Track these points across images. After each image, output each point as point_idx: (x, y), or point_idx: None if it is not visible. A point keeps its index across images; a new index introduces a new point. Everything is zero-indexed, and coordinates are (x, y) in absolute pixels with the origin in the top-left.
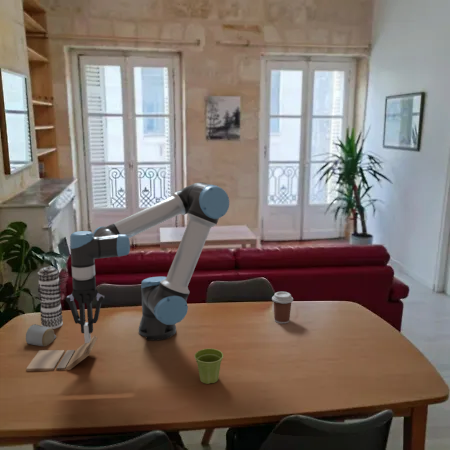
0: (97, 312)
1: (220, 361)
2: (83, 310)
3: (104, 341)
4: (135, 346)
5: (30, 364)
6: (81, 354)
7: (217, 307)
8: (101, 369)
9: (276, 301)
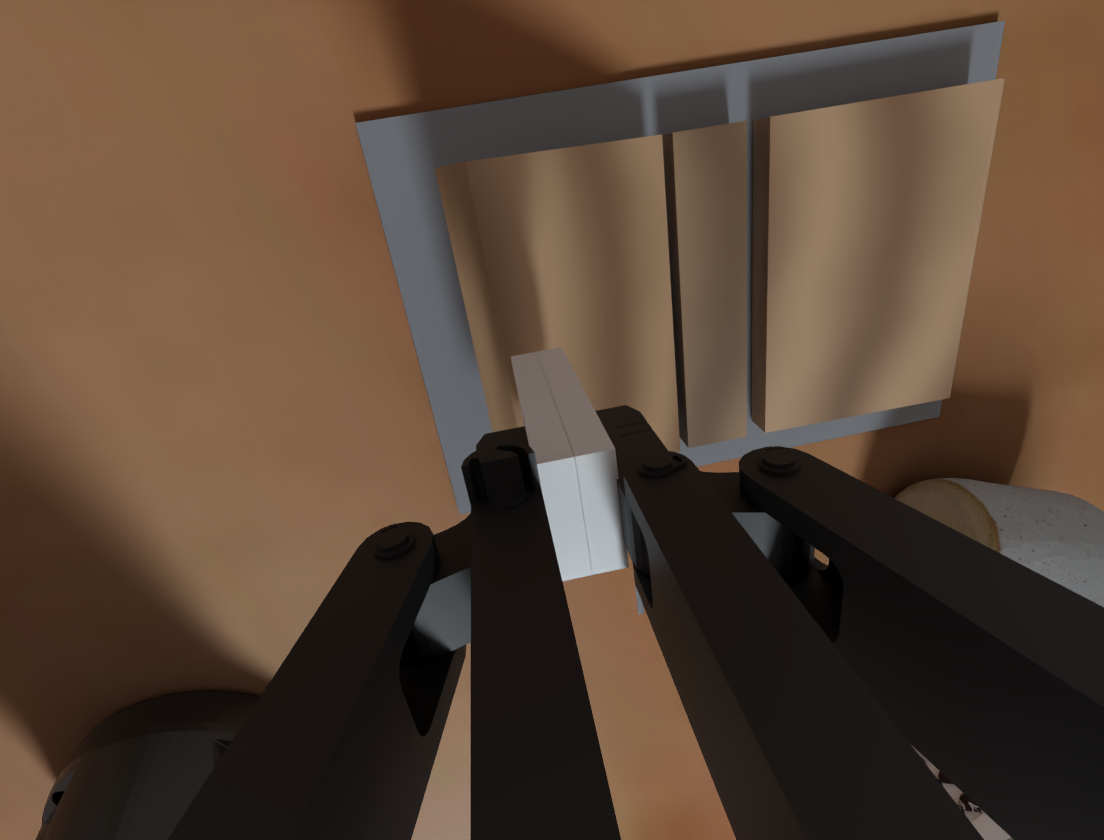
0: (241, 772)
1: None
2: (745, 758)
3: None
4: (275, 602)
5: (979, 160)
6: (545, 208)
7: None
8: (366, 230)
9: None
